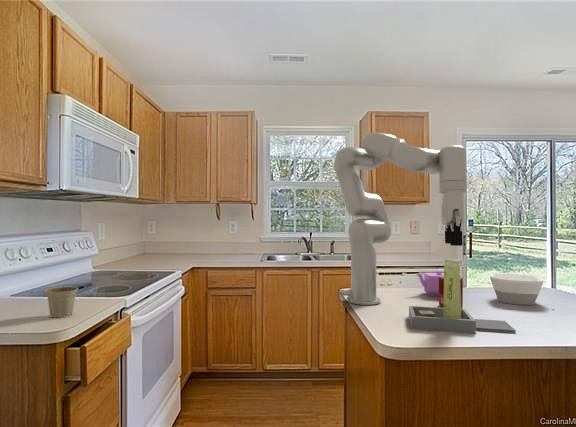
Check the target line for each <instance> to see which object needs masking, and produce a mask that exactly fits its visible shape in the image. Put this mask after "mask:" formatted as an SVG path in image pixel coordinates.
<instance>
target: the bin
mask: <svg viewBox="0 0 576 427" xmlns="http://www.w3.org/2000/svg"><path fill="white" fill-rule="evenodd" d="M418 311H432V312H433V313H435V317H421V316H418ZM408 317H409V322H410V327H411V329H412V330H422V331H423V330H424V331H425V330H426V331H438V332H440V331H441V332H452V333H467V334H476V333H477V330H476V321H475V320H474V319H475V318H474V317H473V316H472V315H471V314H470V312H468V311H467V309H466V308H461V319H453V318H444V308H443V307H440V306H438V307H436V306H421V305H419V306H417V305H409V306H408Z"/></svg>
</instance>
